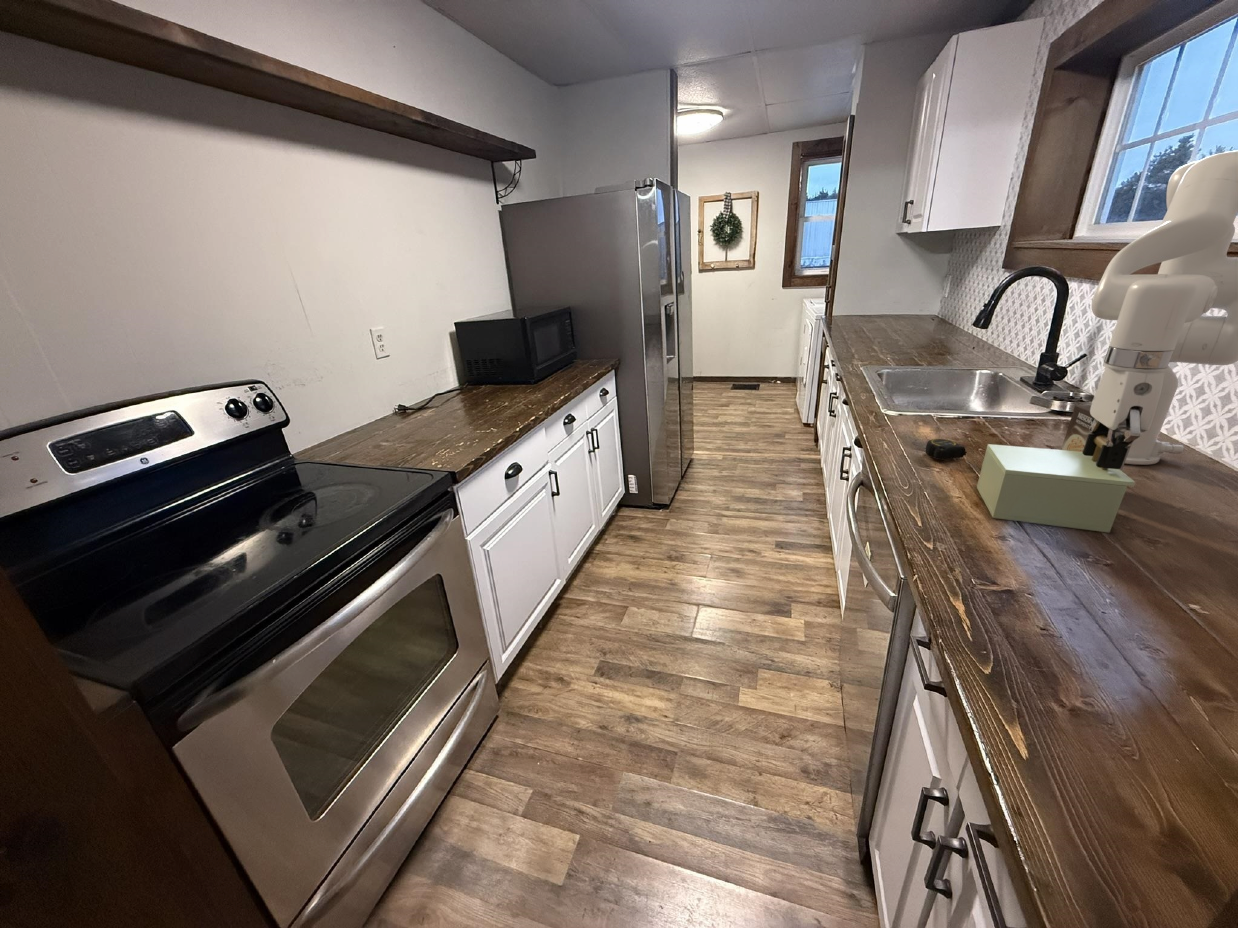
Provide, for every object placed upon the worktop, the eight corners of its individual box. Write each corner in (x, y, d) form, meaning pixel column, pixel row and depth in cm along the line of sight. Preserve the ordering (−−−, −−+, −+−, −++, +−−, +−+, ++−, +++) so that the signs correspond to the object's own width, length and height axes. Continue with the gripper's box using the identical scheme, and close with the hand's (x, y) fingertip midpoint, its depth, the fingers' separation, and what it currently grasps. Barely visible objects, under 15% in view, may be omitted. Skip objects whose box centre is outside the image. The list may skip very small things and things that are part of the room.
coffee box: (1050, 476, 107) (1072, 404, 101) (1084, 477, 106) (1109, 404, 100) (1076, 494, 99) (1103, 417, 93) (1114, 496, 97) (1144, 418, 91)
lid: (1098, 456, 94) (1108, 428, 91) (1134, 486, 82) (1146, 455, 80) (986, 447, 100) (993, 421, 98) (1004, 473, 89) (1013, 444, 86)
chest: (1078, 498, 97) (1092, 456, 94) (1109, 532, 86) (1127, 486, 82) (976, 487, 104) (986, 447, 100) (992, 517, 92) (1004, 474, 89)
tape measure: (937, 464, 116) (941, 449, 114) (917, 453, 122) (920, 439, 120) (964, 461, 116) (968, 446, 115) (943, 451, 123) (946, 436, 121)
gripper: (1198, 370, 72) (1153, 483, 79) (1140, 350, 87) (1106, 447, 94) (1131, 368, 75) (1093, 477, 82) (1086, 349, 90) (1056, 443, 97)
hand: (1100, 460), depth 88 cm, fingers closed on lid, 5 cm apart
